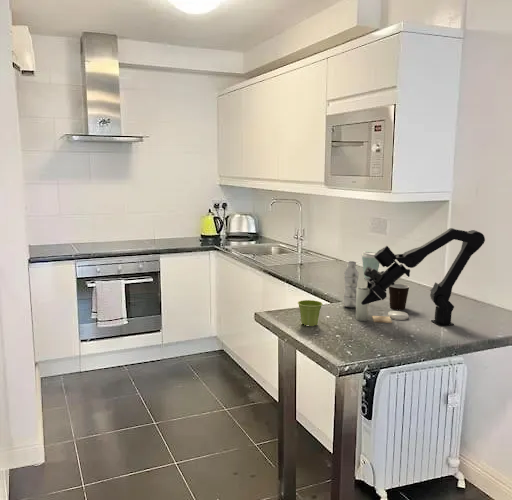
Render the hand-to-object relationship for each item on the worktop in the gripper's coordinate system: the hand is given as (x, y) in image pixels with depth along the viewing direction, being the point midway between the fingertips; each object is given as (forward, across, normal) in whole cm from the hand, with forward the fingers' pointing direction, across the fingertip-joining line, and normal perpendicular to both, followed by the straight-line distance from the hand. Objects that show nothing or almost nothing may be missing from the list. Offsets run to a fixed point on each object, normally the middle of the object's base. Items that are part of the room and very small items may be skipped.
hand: (361, 301), depth 208 cm
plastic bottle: (+8, -18, +3) cm, 20 cm away
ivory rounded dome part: (-6, -6, +16) cm, 18 cm away
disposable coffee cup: (-3, -80, +13) cm, 82 cm away
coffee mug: (-6, -19, +17) cm, 26 cm away
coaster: (-1, 0, +11) cm, 11 cm away
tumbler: (+5, 0, +6) cm, 7 cm away
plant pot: (+20, +12, -9) cm, 25 cm away
